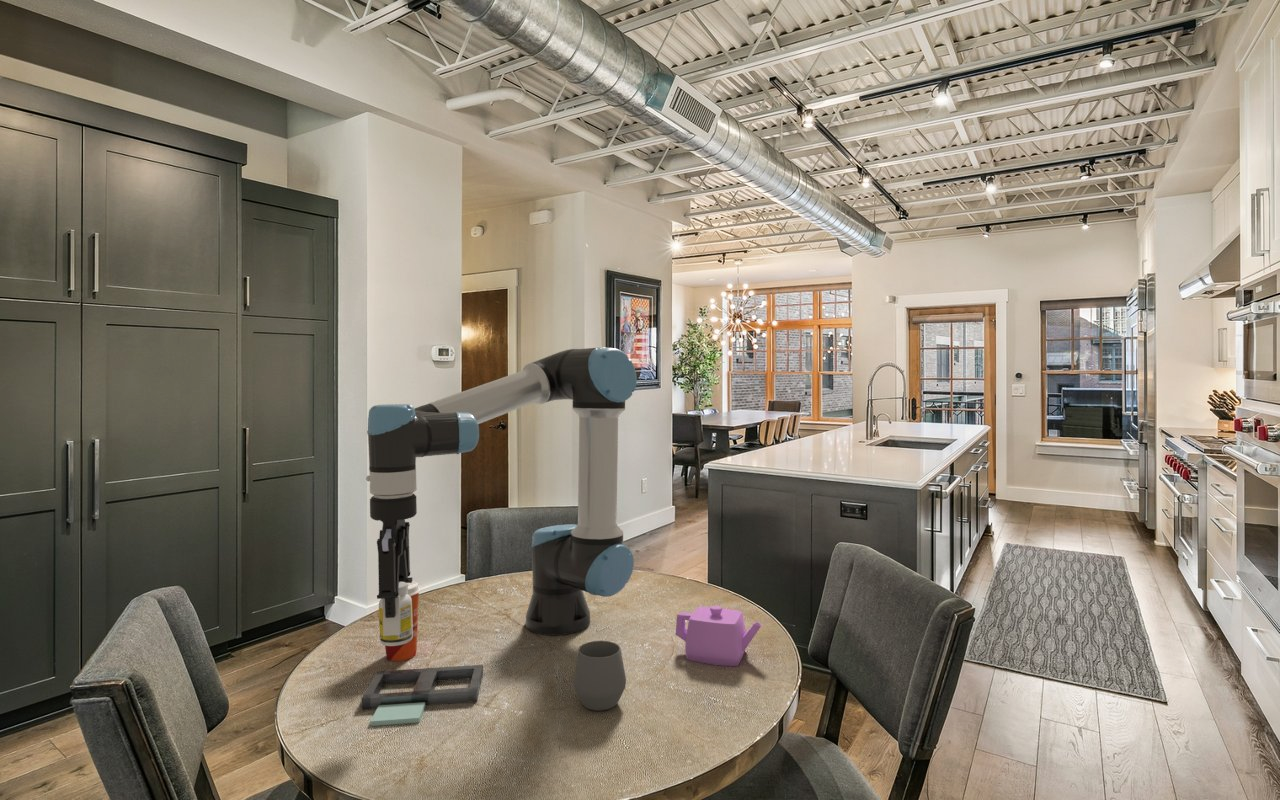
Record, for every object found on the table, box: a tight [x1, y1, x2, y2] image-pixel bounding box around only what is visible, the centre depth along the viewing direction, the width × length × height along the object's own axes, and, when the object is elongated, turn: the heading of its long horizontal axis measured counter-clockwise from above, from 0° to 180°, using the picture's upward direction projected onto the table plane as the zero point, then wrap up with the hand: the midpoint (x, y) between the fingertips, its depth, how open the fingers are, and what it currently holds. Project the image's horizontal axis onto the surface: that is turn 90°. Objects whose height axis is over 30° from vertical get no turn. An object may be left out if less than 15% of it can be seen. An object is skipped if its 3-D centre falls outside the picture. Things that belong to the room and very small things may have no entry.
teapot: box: [675, 605, 762, 667], centre depth 142 cm, size 18×10×10 cm, turn 71°
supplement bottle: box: [378, 582, 413, 647], centre depth 117 cm, size 5×5×10 cm
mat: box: [369, 702, 426, 727], centre depth 118 cm, size 8×6×1 cm
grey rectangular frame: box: [361, 664, 484, 711], centre depth 127 cm, size 20×11×2 cm, turn 98°
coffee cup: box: [384, 580, 421, 662], centre depth 143 cm, size 8×8×15 cm
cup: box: [572, 640, 627, 712], centre depth 121 cm, size 10×9×10 cm
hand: (396, 627), depth 117 cm, fingers closed on supplement bottle, 5 cm apart
